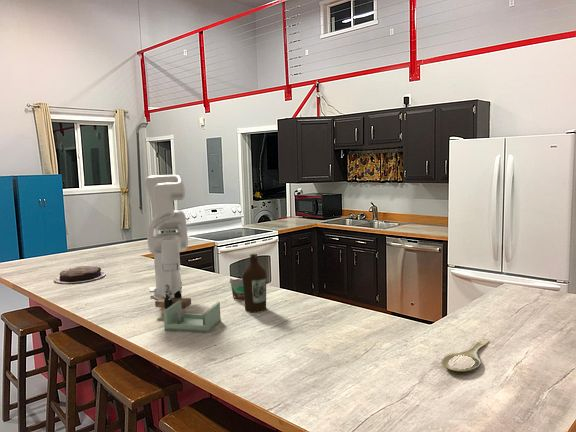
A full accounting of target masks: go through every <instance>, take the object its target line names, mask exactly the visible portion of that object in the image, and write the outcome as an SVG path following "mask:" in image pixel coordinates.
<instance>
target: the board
mask: <svg viewBox="0 0 576 432" xmlns="http://www.w3.org/2000/svg"><path fill="white" fill-rule="evenodd" d="M171 300H172V305H173V304H174V303H176V302H177V301H181V308H186V309H187V308H188V307H190V306H191V305H192V298H190V297H182V298H171ZM154 303H155V304H154V306H155V308H162V307H163V308H165V303H164V298H163V297H161V298H160V299H156V300H155V302H154Z"/></svg>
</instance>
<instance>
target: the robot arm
mask: <svg viewBox="0 0 576 432" xmlns="http://www.w3.org/2000/svg"><path fill="white" fill-rule="evenodd" d="M144 189H145V192H146V194H147V197H148V199H149V202H150V205H151V215H152V216H151V218H152V219H151V221H150V222H149V223H148V226H147V229H146V240H147V247H148V251H149V253H150V254H152V255H153V261H154V277H155V287H149V288H148V289H149V293H153V295H152V296H153V298H154V299H156V300H158V299H160V298H161V297H163V298H164V303H165V309H167V308H169V307H170V306H171V305H172V300H171V298H183V296H182V292H183V291H182V287H183V286H182V285H183V282H182V278H181V277H182V276H181V259H180V252H184V251H186V250H187V249H188V247H189V238H188V227H187V226H188V225H187V219H186V214H185V213H184V211H182V210H179V209H178V210H175V208H174V201H182V200H184V199H185V196H186V188H185V185H184V183H183V179H182V177H181V176H180V175H179V174H161V175H160V174H159V175H158V174H155V175H154V174H153V175H149V176H147V177H146V178H145V179H144ZM155 230H156V231H159V232H161V231H175V232H164V233H163V232H162V233H157V234H154V231H155Z"/></svg>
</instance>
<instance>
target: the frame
mask: <svg viewBox="0 0 576 432" xmlns="http://www.w3.org/2000/svg"><path fill="white" fill-rule="evenodd" d="M220 322H221V302H220V301H216V302H215V303H214V304H213V305H212V306H211V307H210V308H208V309H207V310H206V311H204V313H187V312H186V313H183V310H182V308H181V301H177V302H176V303H174V304H173V305H171V306H170V307H169V308H167V309H166V310H164V315H163V324H164V331H165V332H185V333H207V334H208V333H210V332H211V331H212V330H213V329H214V328H215V327H216V326H217V325H218V324H219V323H220Z"/></svg>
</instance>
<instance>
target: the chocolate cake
mask: <svg viewBox="0 0 576 432" xmlns="http://www.w3.org/2000/svg"><path fill="white" fill-rule="evenodd" d="M106 274H107V273H106V272H105V271H102V268H101V267H100V266H97V265H96V266H90V265H86V266H85V265H82V266H77V267H74V268H69V269H66V270H61V272H59V276H57V277H55V278H54V279H53V281H54V283H55V284H60V285H61V284H63V285H64V284H65V285H72V284H84V283H88V282H95V281H97V280H101V279H103V278H104V277H105V276H106Z"/></svg>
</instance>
